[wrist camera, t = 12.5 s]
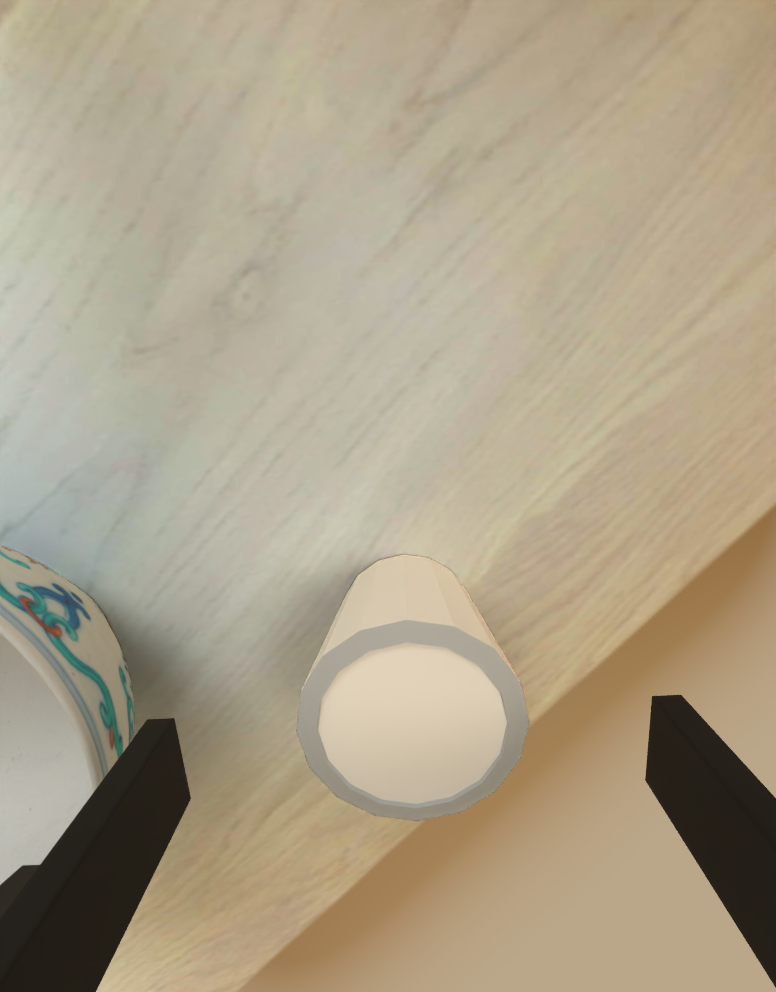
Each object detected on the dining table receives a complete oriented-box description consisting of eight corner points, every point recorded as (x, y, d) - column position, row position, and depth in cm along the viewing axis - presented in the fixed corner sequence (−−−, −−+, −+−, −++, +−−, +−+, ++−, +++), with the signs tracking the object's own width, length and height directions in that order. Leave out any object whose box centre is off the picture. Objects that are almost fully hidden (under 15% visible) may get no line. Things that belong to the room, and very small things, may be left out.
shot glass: (356, 519, 19) (335, 589, 12) (509, 570, 20) (569, 666, 13) (309, 657, 21) (267, 787, 14) (451, 702, 21) (478, 850, 14)
